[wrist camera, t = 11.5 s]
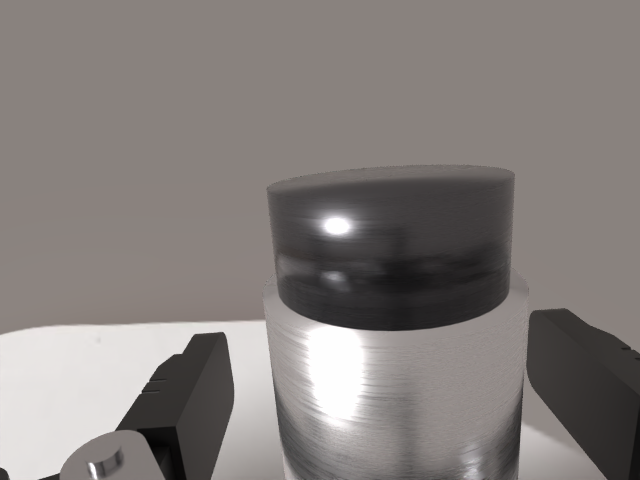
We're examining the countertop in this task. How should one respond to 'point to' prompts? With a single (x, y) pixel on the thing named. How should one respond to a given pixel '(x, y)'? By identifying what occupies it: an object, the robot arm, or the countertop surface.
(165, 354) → the countertop surface
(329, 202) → the pepper grinder
